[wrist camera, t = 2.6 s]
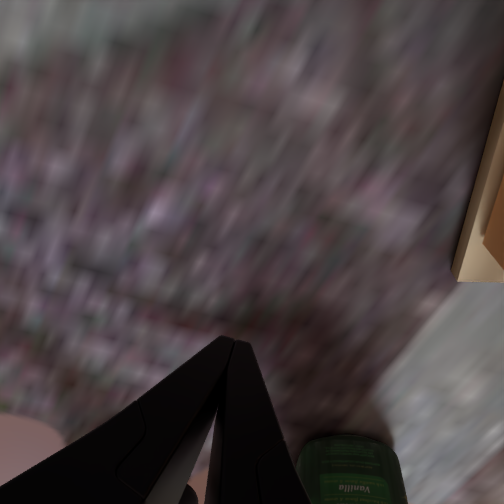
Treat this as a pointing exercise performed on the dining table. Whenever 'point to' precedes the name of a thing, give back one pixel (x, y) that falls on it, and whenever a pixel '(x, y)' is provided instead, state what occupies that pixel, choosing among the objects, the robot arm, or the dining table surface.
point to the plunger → (496, 229)
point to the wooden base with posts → (483, 209)
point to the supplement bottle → (188, 496)
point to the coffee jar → (350, 471)
